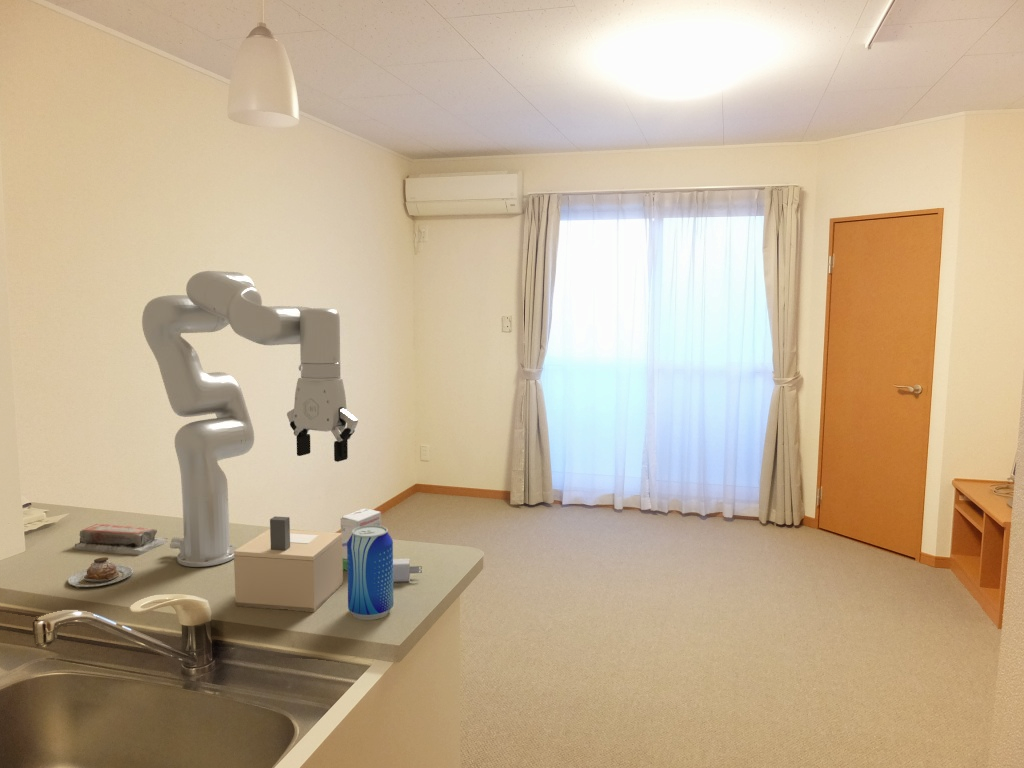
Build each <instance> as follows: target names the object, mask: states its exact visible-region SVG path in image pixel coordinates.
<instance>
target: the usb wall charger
mask: <svg viewBox="0 0 1024 768" xmlns="http://www.w3.org/2000/svg"><path fill="white" fill-rule="evenodd" d="M410 560H411V559H410V558H393V583H402V582H403V583H409V582H410V580H411V579H410V578H411V575H410V574H422V573H423V566H422V565H411V561H410Z"/></svg>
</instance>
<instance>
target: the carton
mask: <svg viewBox="0 0 1024 768" xmlns="http://www.w3.org/2000/svg"><path fill="white" fill-rule="evenodd" d="M233 563H234V565H233V569H234V595H235V597H234V598H235V599H234V600H235V607H241V606H244V607H243V608H254V607H255V609H256V608H257V609H266V608H270V610H279V609H288V610H287V611H292V610H293V611H292V612H304V611H305V612H307V613H316V611H317V610H319V609H320V607H321V606H322V605H323V604H324V603H326V601H327V600H328V599H329V598H330V597H331V596H332V595H333V594H335V592H336V591H337V590H339V589H340V587H341V586H342V585H343V584H342V583H344V574H343V572H344V569H343V559H342V537H341V538H340V539H339V540H338V541H336V542H335V543H334V544H333V545H332V546H330V547H329V548H328V549H327V550H326V551H324V552H323V553H322V554H321V555H320V556H318V557H317V558H316V559H315V560H313V561H311V560H296V559H281V558H266V557H251V556H237V555H234V558H233ZM340 585H341V586H340ZM336 589H337V590H336ZM335 590H336V591H335ZM332 593H333V594H332ZM294 610H295V611H294Z"/></svg>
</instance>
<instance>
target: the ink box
mask: <svg viewBox="0 0 1024 768" xmlns="http://www.w3.org/2000/svg"><path fill="white" fill-rule="evenodd" d="M365 525H380V526H382V511H378V510H374V509H369V508H361V509H359V510H355V511H353V512H351V513H347V514H345V515H342V517H341V518H340V533H342V559H343V570H344V569H345V571H348V570H347V542H348V540H349V539H350V537H351V535H352V530H353V529H355V528H357V527H360V526H365Z"/></svg>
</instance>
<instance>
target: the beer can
mask: <svg viewBox="0 0 1024 768" xmlns="http://www.w3.org/2000/svg"><path fill="white" fill-rule="evenodd" d="M388 531H389V529H388V528H387V526H383V525H381V526H380V525H365V526H360V527H357V528H355V529H353V530H352V535H351V537H350V539H349V540H348V542H347V570H346V571H347V609H348V611H349V612H350V613H351V615H352V616H353V617H354V618H356V619H357V620H362V621H374V620H378V619H379V620H380V619H382V618H384V617H387V616H388V615H389V614H390V611H391V610H392V608H393V607H394V582H393V559H394V541H393V539H392V537H391V535H390V534H389V532H388Z"/></svg>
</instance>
